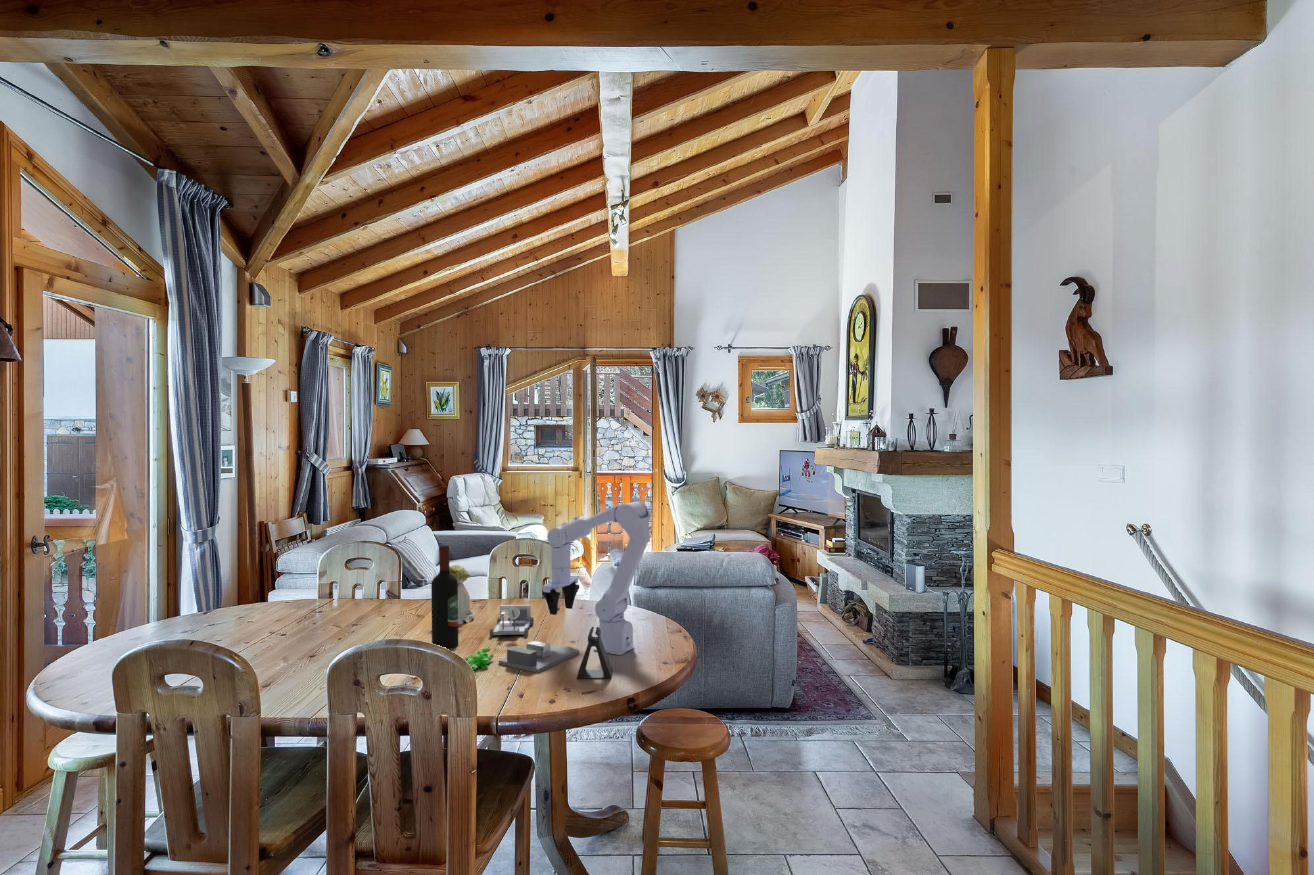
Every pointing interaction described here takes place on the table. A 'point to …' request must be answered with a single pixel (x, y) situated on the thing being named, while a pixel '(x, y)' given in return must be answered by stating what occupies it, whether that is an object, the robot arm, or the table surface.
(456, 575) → the yellow-capped mushroom figurine
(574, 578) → the robot arm
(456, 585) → the wine bottle
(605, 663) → the phone stand
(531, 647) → the plunger
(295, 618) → the table surface
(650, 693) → the table surface
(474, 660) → the crocodile figurine
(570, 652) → the gauge base
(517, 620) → the toy car
